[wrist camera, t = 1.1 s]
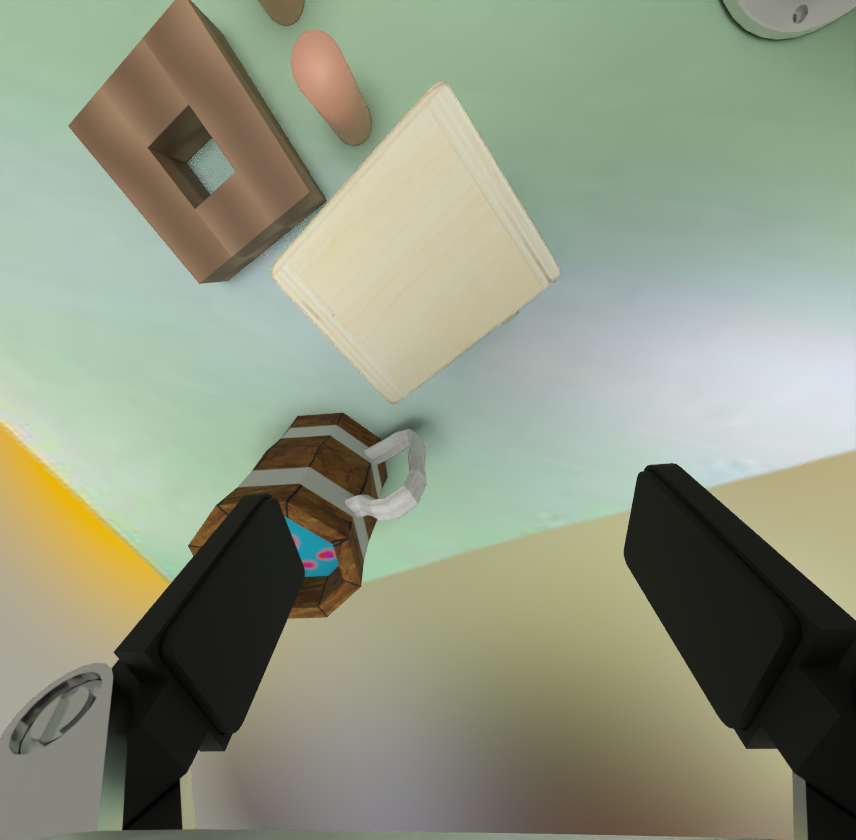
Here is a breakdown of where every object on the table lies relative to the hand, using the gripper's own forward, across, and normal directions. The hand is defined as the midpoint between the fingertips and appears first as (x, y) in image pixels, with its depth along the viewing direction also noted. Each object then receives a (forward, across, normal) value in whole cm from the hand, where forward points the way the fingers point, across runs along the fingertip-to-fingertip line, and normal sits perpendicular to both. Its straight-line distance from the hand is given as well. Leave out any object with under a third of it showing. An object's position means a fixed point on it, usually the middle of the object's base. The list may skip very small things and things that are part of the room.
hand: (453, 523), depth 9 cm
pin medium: (+26, +6, -17) cm, 32 cm away
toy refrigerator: (+26, +1, -6) cm, 27 cm away
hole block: (+26, +17, -15) cm, 35 cm away
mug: (+26, +12, +13) cm, 32 cm away
